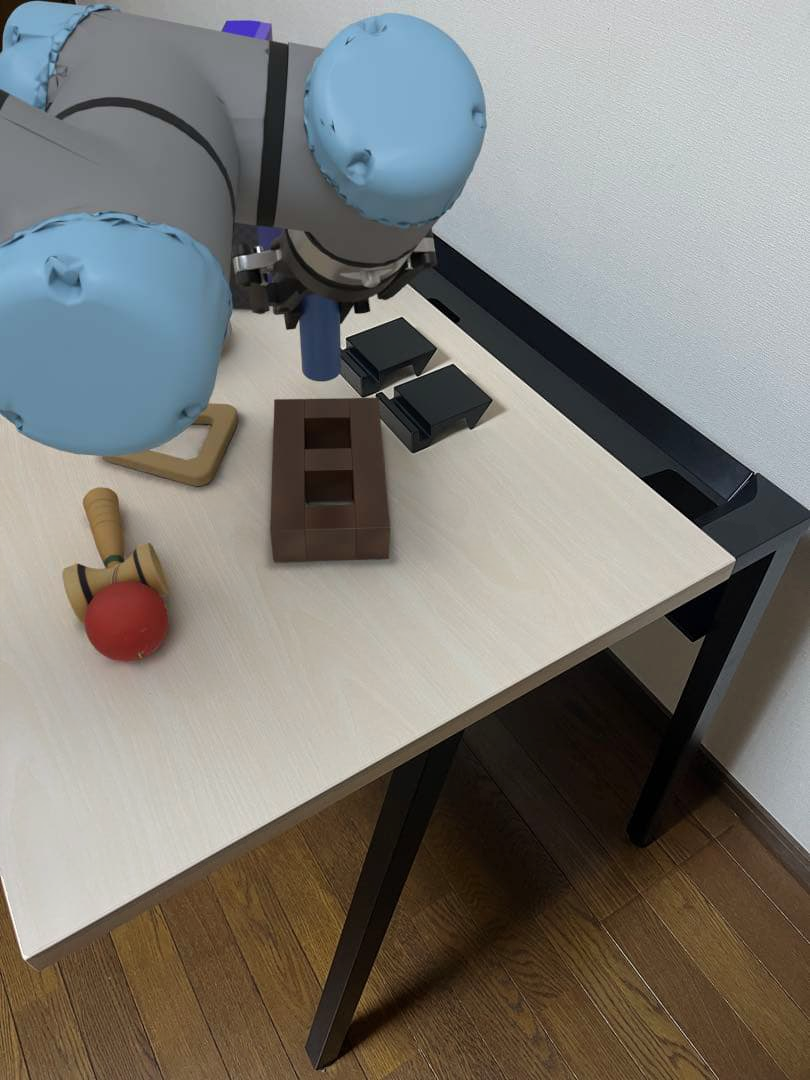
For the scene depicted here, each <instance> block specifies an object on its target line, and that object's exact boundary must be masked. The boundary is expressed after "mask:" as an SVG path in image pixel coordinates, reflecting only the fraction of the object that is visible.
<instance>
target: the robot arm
mask: <svg viewBox="0 0 810 1080" xmlns="http://www.w3.org/2000/svg"><path fill="white" fill-rule="evenodd" d="M487 124H488V123H487V106H486V98H485V93H484V89H483V86H482V83H481V80H480V78H479V75H478V73H477V70H476V68H475V66H474V64H473V63H472V61H471V60H470V58H469V57H468V55H467V54H466V52H465V51H464V49H462V47H461V46H460V45H459V44H458V42H457V41H456V40H454V38H452V37H451V36H450V35H449V34H447V33H446V31H444V30H443V29H441V28H440V27H438V26H436V25H435V24H433V23H431V22H429V21H427V20H425V19H423V18H420V17H417V16H414V15H410V14H406V13H397V12H384V13H382V14H379V15H374V16H370V17H365V18H363V19H360V20H358V21H356V22H352V23H349V25H346V26H345V27H344V28H342V29H341V30H339V32H338V33H337V34H336V35H334V36H333V37H332V38H331V40H330V41H329V42H328V43H327V45H325V47H324V48H322V47H317V46H312V45H307V44H301V43H295V42H290V41H288V42H287V43H284V42H280V41H275V40H273V41H268V40H263V39H258V38H252V37H247V36H242V35H237V34H232V33H227V32H222V30H216V29H212V28H207V27H206V28H205V27H200V26H195V25H189V24H184V23H180V22H175V21H170V20H164V19H159V18H156V17H155V18H153V17H149V16H145V15H144V16H143V15H140V14H138V15H137V14H133V13H128V12H123V11H122V10H121V9H120V8H117V7H114V6H110V5H108V4H103V3H96V4H90V5H81V4H72V3H63V2H53V1H44V0H32V1H28V2H24V3H22V4H20V5H19V6H17V7H16V8H15V9H14V10H13V11H12V12H11V14H10V15H9V17H8V19H7V21H6V23H5V25H4V30H3V34H2V50H1V52H0V415H1V416H2V417H4V418H5V419H6V420H7V421H9V422H10V423H11V424H12V425H14V426H15V428H16V431H17V432H18V433H19V434H21V435H22V436H24V437H26V438H28V439H30V440H32V441H33V442H36V443H39V444H41V445H43V446H45V447H48V448H52V449H54V450H57V451H61V452H65V453H69V454H73V455H82V456H95V457H103V456H105V457H107V456H123V455H130V454H136V453H139V452H143V451H147V450H153V449H155V448H158V447H160V446H162V445H164V444H166V443H168V442H170V441H172V440H173V439H175V438H177V437H178V436H179V435H181V434H182V433H184V432H185V431H186V430H187V429H188V428H189V427H190V426H192V425H193V424H192V423H193V422H194V421H195V419H196V418H197V417H198V416H199V415H200V413H201V412H203V411H204V410H206V408H207V405H208V403H210V399H211V397H212V394H213V392H214V389H215V385H216V381H217V375H218V371H219V365H220V360H221V356H222V350H223V349H222V345H223V343H224V341H225V340H226V337H227V334H228V322H229V320H230V321H231V318H232V315H233V310H234V309H233V304H232V299H231V298H232V294H231V291H230V287H229V284H230V266H231V251H232V258H233V264H234V270H235V277H236V283H237V286H238V287H240V288H242V289H245V290H247V291H248V293H249V297H250V301H251V305H252V313H253V314H257V315H264V314H266V313H268V312H270V307H272V314H273V315H275V316H279V315H283V317H284V325H285V330H286V331H289V330H290V331H291V330H296V329H297V326H298V324H299V318H300V316H301V314H302V308H301V301H302V300H303V299H304V298H306V297H307V296H308V295H316V294H317V295H319V296H321V297H323V298H326V299H329V300H333V301H338V302H340V325H343V323H344V321H345V319H346V318H347V316H348V315H349V314H350V312H351V310H352V309H353V312H354V314H355V315H361V314H367V313H369V312H371V306H370V298H372V297H374V296H375V295H376V297H377V299H378V300H382V301H388V300H390V299H392V298H394V297H395V296H396V295H397V294H398V293H399V292H400V291H401V290H402V289H403V288H405V287H406V286H407V285H408V284H409V283H411V281H413V279H415V278H417V276H418V275H419V274H421V273H423V272H424V271H427V270H429V269H432V268H433V267H436V266H437V265H438V262H437V255H436V247H435V240H434V235H433V234H434V233H433V227H434V226H435V224H436V223H438V221H439V220H440V219H441V218H442V217H443V216H444V215H445V214H446V213H447V212H448V210H452V208H453V207H454V204H455V203H456V201H457V200H458V199H459V198H460V197H461V195H462V193H463V190H464V188H465V187H466V184H467V181H468V179H469V177H470V176H471V174H472V172H473V170H474V167H475V164H476V162H477V160H478V158H479V156H480V154H481V150H482V147H483V144H484V140H485V135H486V131H487V127H488V125H487ZM234 223H240V224H248V225H255V226H263V227H271V228H272V227H277V228H281V235H280V236H278V237H277V238H275V239H274V240H273V241H272V243H271V245H270V250H268V251H264V250H263V247H262V246H256V247H253V246H251V245H250V244H246V243H237V244H235V245H233V246H232V238H233V233H234ZM270 273H271V275H272V283H269V282H268V276H267V275H268V274H270Z"/></svg>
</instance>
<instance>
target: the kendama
mask: <svg viewBox="0 0 810 1080" xmlns="http://www.w3.org/2000/svg"><path fill="white" fill-rule="evenodd" d="M82 506H83V510H84V512H85V514H86V517H87V521H88V524H89V527H90V530H91V534H92V537H93V540H94V543H95V544H94V545H95V546H96V549H97V552H98V554H99V556H100V559H101V561H102V563H103V565H104V568H92V567H90V566H89V567H88V566H85V565H83V564H81V563H79V562H77V563H74V564H72V565H69V566H67V567H64V568H63V569H62V582H63V586H64V590H65V594H66V597H67V599H68V602H69V604H70V607H71V608H72V611H73V613H74V615H75V616H76V617H77V619H78V621H79V622H80V623H81V624H83V625H84V629H85V633H86V636H87V638H88V640H89V643H90V644H91V645H92V646H93V648H94V649H95V650H96V651H97V652H98V653H100V654H101V655H102V656H103V657H106V658H107V659H109V660H113V661H117V662H132V661H133V662H134V661H138V660H144V659H145V657H147V656H149V655H151V654H152V653H154V652H155V651H156V650H157V649H158V648H159V647H160V646H161V644H162V643H163V641H165V640H164V639H166V635H167V633H168V630H169V629H168V628H169V611H168V607H167V605H166V603H165V601H164V599H163V597H164V596H166V595H168V593H169V585H168V581H167V578H166V575H165V572H164V569H163V567H162V564H161V561H160V558H159V557H158V554H157V552H156V550H155V548H154V546H153V545H152V544H151V543H150V542H145V543H141V544H138V545H137V546H135V549H134V550H133V551H132V553H131V555H130V556H129V557H128V558H127V559H125V545H124V534H123V527H122V519H121V512H120V500H119V496H118V494H117V493H116V492H115V491H114V490H112V489H111V488H109V487H103V486H99V487H95V488H92V489H90V490H89V491H87V492H86V494H84V497H83V499H82Z"/></svg>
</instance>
